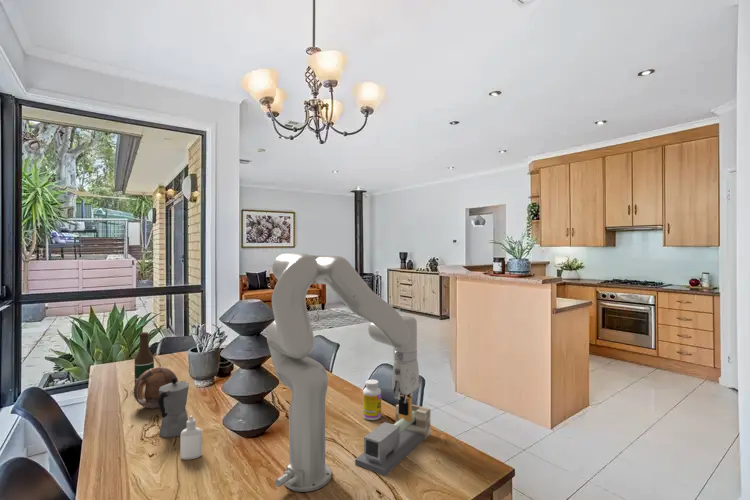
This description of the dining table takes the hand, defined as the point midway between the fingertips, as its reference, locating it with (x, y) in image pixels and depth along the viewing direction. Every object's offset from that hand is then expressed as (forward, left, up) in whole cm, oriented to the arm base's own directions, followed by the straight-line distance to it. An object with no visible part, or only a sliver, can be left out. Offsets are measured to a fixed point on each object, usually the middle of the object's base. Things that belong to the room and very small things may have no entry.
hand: (405, 412), depth 123 cm
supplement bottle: (+8, +18, -9) cm, 22 cm away
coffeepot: (-38, +67, -9) cm, 78 cm away
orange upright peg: (-2, 0, -5) cm, 5 cm away
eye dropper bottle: (-43, +48, -9) cm, 65 cm away
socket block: (+5, 0, -9) cm, 10 cm away
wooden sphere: (-30, +93, -9) cm, 98 cm away
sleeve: (-14, 0, -7) cm, 15 cm away
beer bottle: (-22, +119, -9) cm, 121 cm away
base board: (-8, 0, -9) cm, 12 cm away
